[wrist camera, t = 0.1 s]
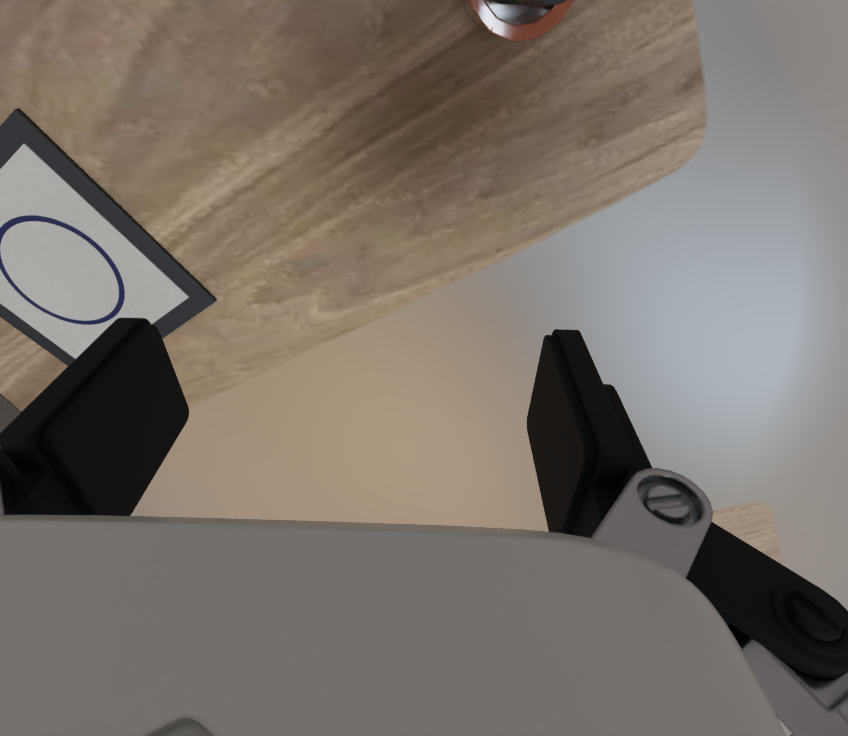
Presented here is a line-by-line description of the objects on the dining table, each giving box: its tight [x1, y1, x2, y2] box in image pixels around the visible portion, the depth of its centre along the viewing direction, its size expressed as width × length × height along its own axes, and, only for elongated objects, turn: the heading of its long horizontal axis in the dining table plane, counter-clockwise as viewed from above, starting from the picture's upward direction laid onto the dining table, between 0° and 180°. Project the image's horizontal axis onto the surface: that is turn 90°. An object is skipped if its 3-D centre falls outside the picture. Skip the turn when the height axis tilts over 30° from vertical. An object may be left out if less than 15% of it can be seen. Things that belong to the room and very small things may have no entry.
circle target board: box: [0, 109, 217, 366], centre depth 36 cm, size 16×16×1 cm
